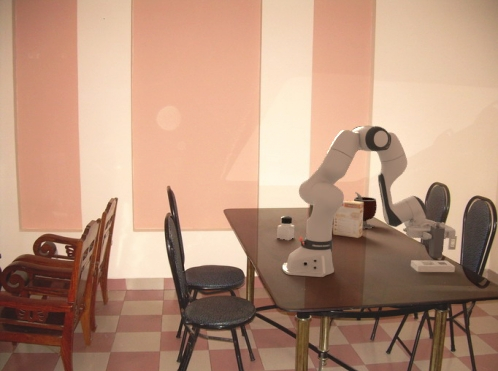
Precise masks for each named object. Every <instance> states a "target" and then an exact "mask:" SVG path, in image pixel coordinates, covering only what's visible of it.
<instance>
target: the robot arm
mask: <svg viewBox="0 0 498 371" xmlns="http://www.w3.org/2000/svg"><path fill="white" fill-rule="evenodd" d="M358 151H364V152H376V153H377V155H378V158H379V161H380V166H381V167H380V172H379V173H378V176H377V179H378V180H377V181H378V182H377V183H378V187H379V193H380V194H379V195H380V199H381V205H382V206H381V207H382V215H383V216H382V217H383V219H384V221H385V224H387V225H388V226H391V227H394V228H397V227H399V226H401V225H402V224H404V226H405V228H403V229H402V231H403V232H405V234H406V236H407V237H408V238H412V239H414V238H415V239H421V240H424V241H425V240H430V239H433V235H432V234H430V228H431V226H436V222H437V220H436V221H435V220H431V219H428V218H427V215H428V211H427V207H426V204H425V202H424V201H423V200H422V199H421V198H420V197H418V196H415V195H410V196H408V197H406V198H404V199H402V200H400V201H398V202H395V203H394V202H393V198H392V193H391V188H392V185H393V184H394V182H395V181H396V180H397V179H398V178H400V177H401V176H402V175H403V174H404V172H405V170H406V169H407V167H408V166H407V165H408V160H407V156H406V152H405V150H404V146H403V145H402V143H401V141H400V139H399V137H398V136H397V135H396V133H393V132H392V131H391V132H389V131H388V130H387V129H385V128H384V127H382V126H378V125H375V126H374V125H363V126H362V125H361V126H355V127H354V128H353V129H350V130H349V129H345V130H344V129H343V130H341V131H340V132H339V133H338V134H337V135H336V137H335V138H334V140H333V141H332V144H330V147H329V148H328V150H327V152H326V154H325V156H324V158H323V160H322V162H321V163H320V165H319V167H318V168H317V169H316V170H315V171H314V172H313V174H312V175H311V176H310V177H309V178H308V179H307V180H305V181H303V182H302V183H301V184H300V185H299V188H298V193H299V194H298V195H299V197H300V199H301V200H303V202H305V203H306V204H309V206H310V205H313V211H312V214H311V216H310V217H309V216H308V218H307V220H306V223H305V224H306V227H305V229H306V230H305V231H306V232H305V237H304V236H300V237H299V238H298V241H299V242H300V246H299V247H298V248H296V249H294V250H293V251H292V252H290V253H289V255H288V257H287V261H286V262H284V263H283V264H282V269H281V270H282V272H283V273H284V274H286V275H290V276H301V277H302V276H303V277H317V278H323V277H325V276H327V275H331V274H333V273H335V268H334V264H333V257H332V256H333V255H332V254H333V253H332V252H333V246H334V245H333V244H334V243H333V237H332V236H333V230H332V228H333V225H334V224H333V219H334V216H335V213H336V211H337V209H338V208H340V207H341V205H342V204H343V201H344V200H345V195H344V192H343V191H342V190H341V188H339V187H338V186H336V185H335V184H336V183H337V182H338V181H339V180H341V179H343V178H344V177H345V175H347V172H348V170H349V168H350V166H351V164H352V161H354V158H355V156H356V154H357V152H358ZM439 222H440V226H441V227H443V228H445V233H444V240H446V239H455V237H456V234H457V233H456V229H455V228H453V227H452V226H449V225H447V224H446V222H442V221H439ZM332 224H333V225H332Z"/></svg>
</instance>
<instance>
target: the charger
mask: <svg viewBox="0 0 498 371" xmlns="http://www.w3.org/2000/svg"><path fill="white" fill-rule="evenodd" d="M440 222H441V221H436V226H431V228H430V234H432V235H433V239H429V243H428V250H429V252H428V254H429V256H430V257H431V258H437V259H438V258H443V253H444V243H445V242H444V241H445V239H444V233H445V228H443V227H441V226H440Z"/></svg>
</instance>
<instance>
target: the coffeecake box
mask: <svg viewBox="0 0 498 371" xmlns="http://www.w3.org/2000/svg"><path fill="white" fill-rule="evenodd" d="M363 205H364V202H359V201H354V200H348V199H347V200H346V199H344V201H343V204H342V205H341V207H340V208H338V209H337V211H336V213H335V216H334V224H333V225H332V228H333V230H332V235H334V236H335V235H336V236H343V237H349V238H356V239H359V238H361V237H362V236H363V228H362V225H363Z"/></svg>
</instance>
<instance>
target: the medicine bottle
mask: <svg viewBox="0 0 498 371" xmlns="http://www.w3.org/2000/svg"><path fill="white" fill-rule="evenodd" d="M295 228H296V227H295V224H293V217H291V216H288V215H284V216H281V217H280V224H279V225H277V230H276V232H277V234H276V238H280V239H279V240H283V239H285V240H284V241H291V240H292V238H293V239H295V230H296V229H295Z"/></svg>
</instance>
